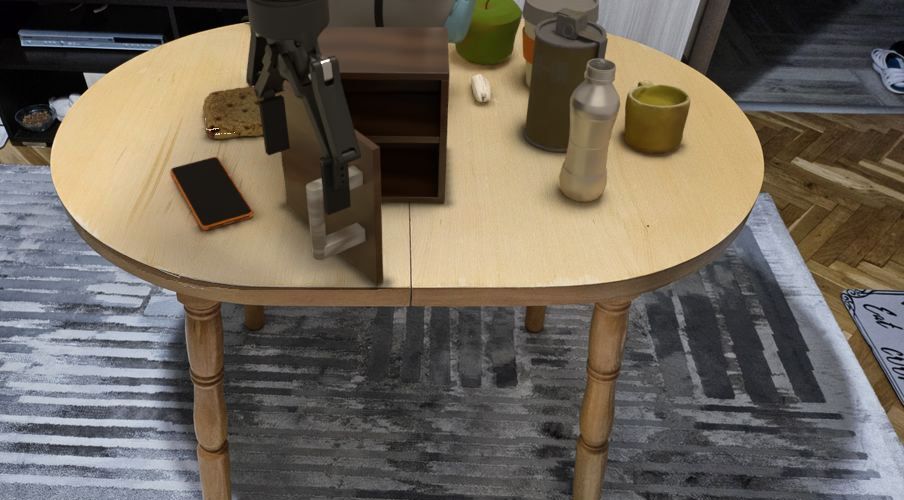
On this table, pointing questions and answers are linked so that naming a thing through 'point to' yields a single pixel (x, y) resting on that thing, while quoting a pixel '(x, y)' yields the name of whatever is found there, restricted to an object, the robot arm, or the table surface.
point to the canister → (559, 74)
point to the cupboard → (398, 102)
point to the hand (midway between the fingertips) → (306, 178)
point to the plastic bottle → (590, 132)
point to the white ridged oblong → (481, 88)
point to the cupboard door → (330, 234)
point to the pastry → (233, 113)
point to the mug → (655, 117)
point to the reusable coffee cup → (540, 8)
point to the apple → (490, 32)
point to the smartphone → (211, 193)
